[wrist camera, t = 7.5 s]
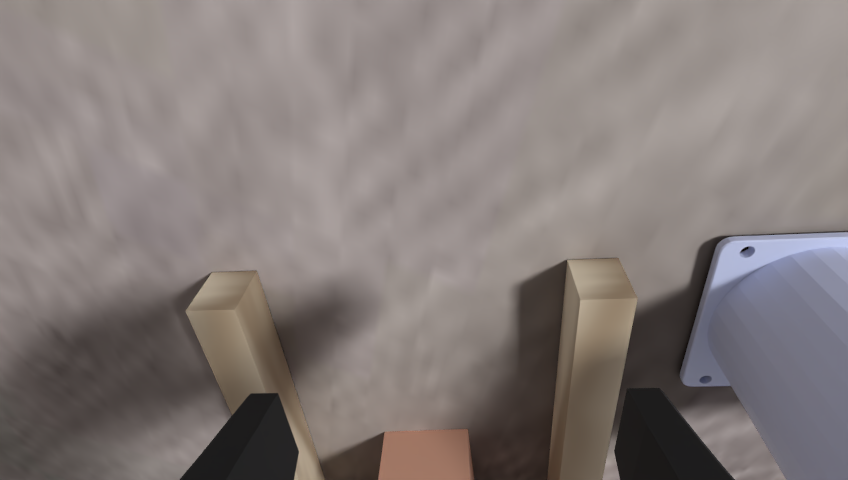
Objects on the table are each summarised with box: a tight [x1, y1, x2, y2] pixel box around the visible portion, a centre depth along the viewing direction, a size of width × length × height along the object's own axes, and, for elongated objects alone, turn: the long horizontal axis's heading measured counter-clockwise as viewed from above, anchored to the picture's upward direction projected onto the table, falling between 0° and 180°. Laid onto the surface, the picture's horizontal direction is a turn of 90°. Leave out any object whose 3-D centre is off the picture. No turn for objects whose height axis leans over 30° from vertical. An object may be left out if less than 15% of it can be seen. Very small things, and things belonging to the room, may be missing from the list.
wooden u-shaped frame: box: [186, 258, 638, 480], centre depth 24 cm, size 17×18×4 cm
